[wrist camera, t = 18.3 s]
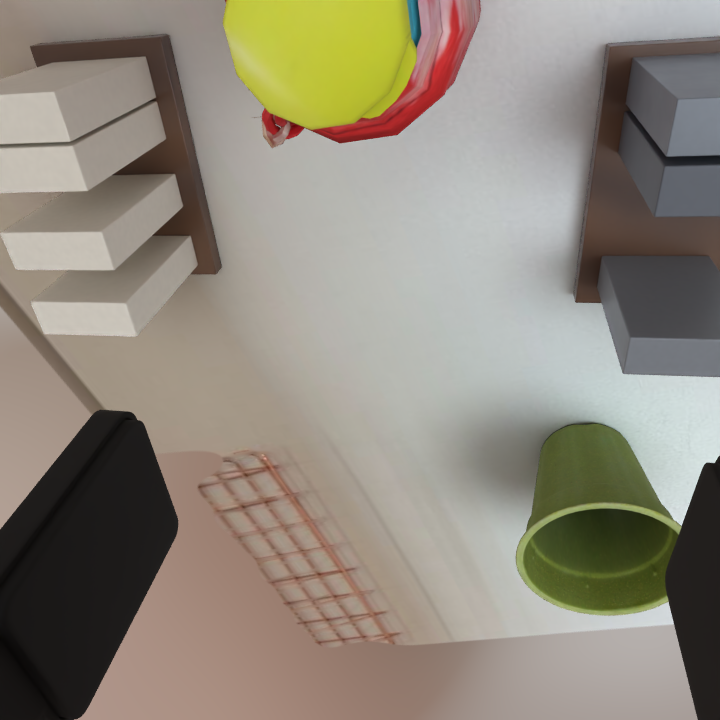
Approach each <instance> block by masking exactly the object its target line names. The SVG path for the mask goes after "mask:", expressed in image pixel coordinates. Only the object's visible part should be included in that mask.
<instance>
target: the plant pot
mask: <svg viewBox="0 0 720 720" xmlns="http://www.w3.org/2000/svg"><path fill="white" fill-rule="evenodd" d="M681 527H682V526H681V525H679V524H678V523H677V522H676V521H674V520H673V518H672V516H671V515H670V513H669V512H668V511H667V509H666V508H665V507H664V506H663V505H662V504H661V502H660V501H659V499H658V497H657V495H656V493H655V491H654V489H653V488H652V486H651V484H650V482H649V480H648V479H647V477H646V475H645V473H644V471H643V469H642V467H641V465H640V463H639V462H638V460H637V458H636V456H635V454H634V452H633V450H632V449H631V447H630V445H629V444H628V442H627V440H626V439H625V438H624V437H623V436H622V435H621V434H620V433H619V432H617V431H616V430H614V429H612V428H610V427H607V426H604V425H600V424H590V425H570V426H567V427H564V428H562V429H560V430H558V431H556V432H555V433H553V434H552V435H551V436H550V437H549V438H548V439H547V440H546V442H545V443H544V445H543V447H542V449H541V453H540V459H539V466H538V473H537V480H536V487H535V493H534V500H533V507H532V514H531V516H530V519H529V521H528V524H527V529H526V532H525V534H524V535H523V537H522V538H521V540H520V542H519V544H518V547H517V551H516V565H517V569H518V572H519V574H520V576H521V578H522V579H523V581H524V582H525V584H526V585H527V586H528V587H529V588H530V589H531V590H532V591H533V592H534V593H536V594H537V595H538V596H539V597H541V598H543V599H544V600H546V601H548V602H550V603H552V604H553V605H556V606H558V607H560V608H564V609H567V610H571V611H574V612H578V613H584V614H592V615H607V616H611V615H626V614H632V613H638V612H642V611H646V610H649V609H653V608H655V607H658V606H660V605H662V604H664V603H667V602H668V597H667V593H666V587H665V574H666V569H667V566H668V563H669V560H670V557H671V555H672V552H673V549H674V546H675V543H676V541H677V538H678V535H679V532H680V530H681Z"/></svg>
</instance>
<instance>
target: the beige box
mask: <svg viewBox="0 0 720 720" xmlns="http://www.w3.org/2000/svg"><path fill="white" fill-rule="evenodd" d="M182 207H183V204H182V200H181V196H180V192H179V188H178V184H177V180H176V176H175V174H145V175H111V176H110V177H108V178H107V179H105V180H104V181H102V182H101V183H99V184H98V185H96V186H95V187H93V188H92V189H90V190H89V191H76V192H64V193H62V194H61V195H59V196H58V197H56V198H55V199H53V200H51V201H50V202H48V203H47V204H45V205H43V206H42V207H40V208H39V209H37V210H35V211H34V212H32V213H31V214H29V215H28V216H26V217H24V218H23V219H21V220H20V221H18V222H16V223H15V224H13V225H12V226H10V227H8V228H7V229H5V230H4V231H2V232H0V235H1V237H2V239H3V242H4V244H5V246H6V249H7V251H8V253H9V255H10V258H11V260H12V262H13V264H14V267H15V269H16V270H115V269H116V268H117V267H118V266H119V265H121V264H122V263H123V262H124V261H125V260H126V259H127V258H128V257H129V256H130V255H131V254H133V253H134V252H135V251H136V250H137V249H138V248H139V247H140V246H141V245H142V244H143V243H144V242H146V241H147V240H148V239H149V238H150V237H151V236H152V235H153V234H154V233H155V232H156V231H157V230H159V229H160V228H161V227H162V226H163V225H164V224H165V223H166V222H167V221H168V220H169V219H171V218H172V217H173V216H174V215H175V214H176V213H177V212H178V211H179V210H180V209H181V208H182Z"/></svg>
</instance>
